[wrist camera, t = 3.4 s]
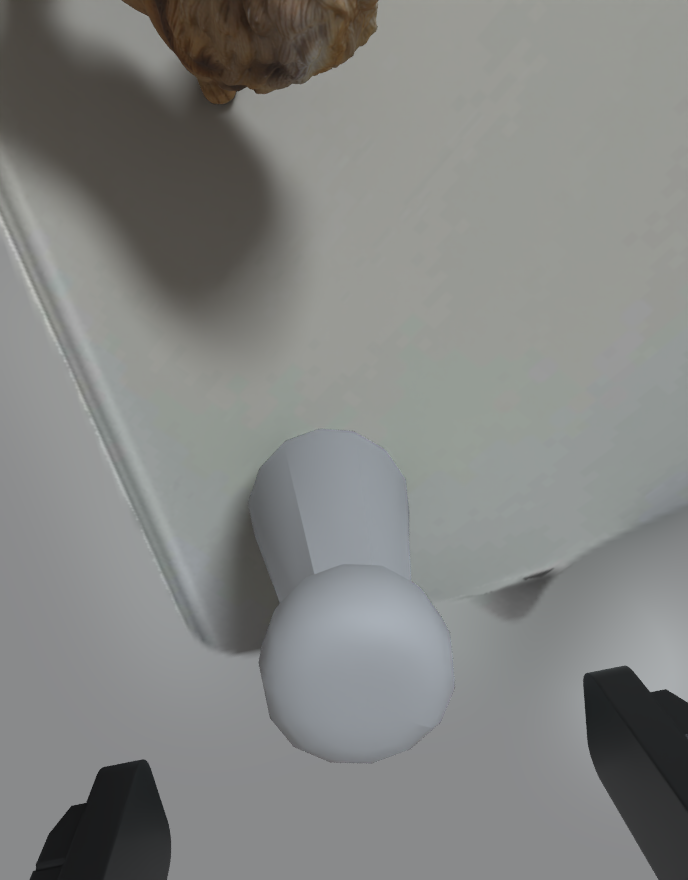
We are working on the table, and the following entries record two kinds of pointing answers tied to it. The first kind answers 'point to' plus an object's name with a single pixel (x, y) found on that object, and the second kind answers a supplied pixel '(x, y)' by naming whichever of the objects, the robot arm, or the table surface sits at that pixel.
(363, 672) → the salt shaker
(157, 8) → the lion figurine
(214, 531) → the table surface
